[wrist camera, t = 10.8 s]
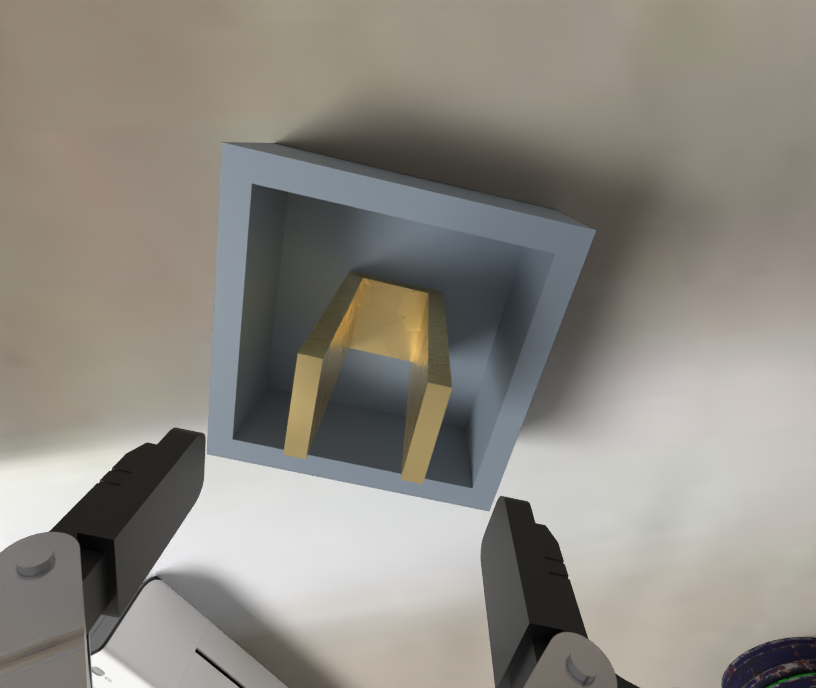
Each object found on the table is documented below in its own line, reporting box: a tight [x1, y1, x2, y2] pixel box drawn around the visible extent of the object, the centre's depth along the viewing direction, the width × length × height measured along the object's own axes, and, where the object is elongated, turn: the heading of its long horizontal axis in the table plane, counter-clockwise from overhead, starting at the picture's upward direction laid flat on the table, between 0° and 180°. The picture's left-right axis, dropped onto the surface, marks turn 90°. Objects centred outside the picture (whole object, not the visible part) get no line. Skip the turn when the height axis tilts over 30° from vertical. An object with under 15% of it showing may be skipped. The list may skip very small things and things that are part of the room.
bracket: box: [283, 270, 452, 484], centre depth 20 cm, size 5×4×10 cm
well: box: [207, 142, 596, 511], centre depth 23 cm, size 14×14×6 cm
